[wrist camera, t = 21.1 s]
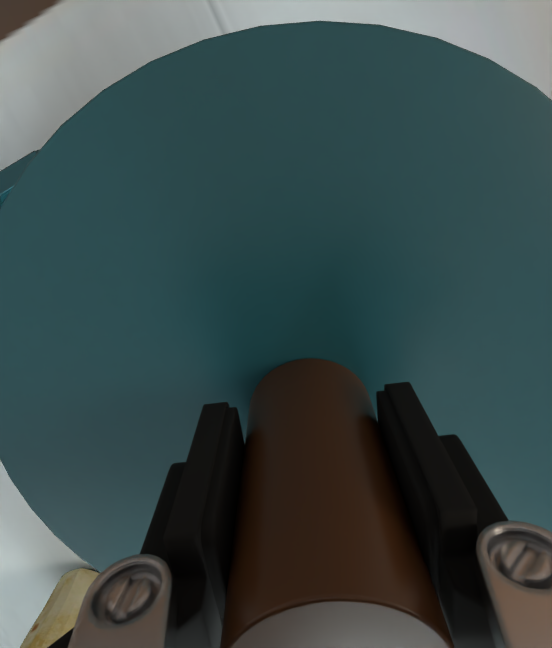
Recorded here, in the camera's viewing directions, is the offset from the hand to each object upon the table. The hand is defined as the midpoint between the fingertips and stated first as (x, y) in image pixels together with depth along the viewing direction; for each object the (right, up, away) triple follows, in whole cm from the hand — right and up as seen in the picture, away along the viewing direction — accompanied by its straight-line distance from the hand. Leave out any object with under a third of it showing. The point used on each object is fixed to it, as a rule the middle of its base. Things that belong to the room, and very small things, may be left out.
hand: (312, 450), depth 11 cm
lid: (0, +1, +2) cm, 2 cm away
